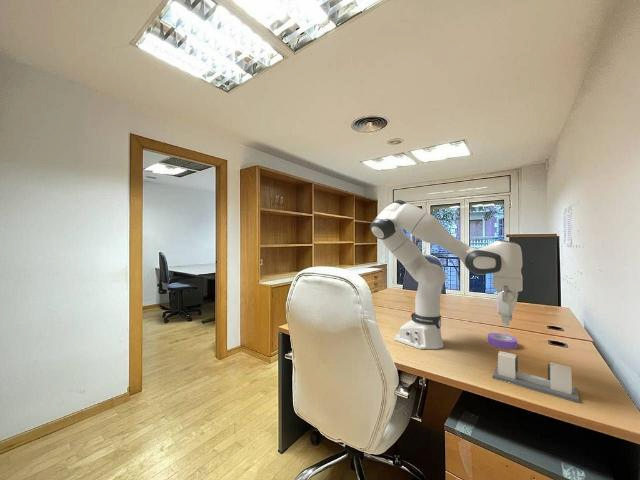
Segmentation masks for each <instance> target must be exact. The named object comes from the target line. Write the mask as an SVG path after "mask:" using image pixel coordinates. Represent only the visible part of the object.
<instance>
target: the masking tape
mask: <svg viewBox="0 0 640 480" xmlns="http://www.w3.org/2000/svg"><path fill="white" fill-rule="evenodd" d="M487 343H488V344H489V345H490V346H493V347H495V348H498V349H503V350H516V349H518V339H517V337H514V336H513V335H510V334H507V333H501V332H491V333H488V334H487Z"/></svg>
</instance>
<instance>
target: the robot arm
mask: <svg viewBox="0 0 640 480" xmlns="http://www.w3.org/2000/svg"><path fill="white" fill-rule="evenodd" d="M369 225H370V227H369V230H370V232H371V233H372V235H373V236H374V237H375V238H377V239H379V240H381V241H382V243H383V244H384V245H385V247H386V249H388V251H390V253H391V254H392V255H393V256H394V257H395V258H396V260H397V261H398V262H400V263H401V264H402V266H403V267H404V268H405V270H406V271H407V272H408V274H409V275H410V276H411V277H412V278H413V280H415V281H416V282H417V283H418V284H417V291H416V294H415V296H414V304H415V305H414V306H415V307H414V308H415V309H414V310H415V311H413V312H412V313H411V314H410V316H409V317H410V318H411V319H410V320H408V321H407V322H406V323H404V324H402V325H401V326H400V328H399V333H397V334H396V335H394V341H396V342H398V343H402V344H404V345H408V346H409V347H412V348H416V349H419V350H438V349H442V348H443V347H444V346H445V344H444V341H443V336H442V331H441V330H442V329H441V327H442V316H441V294H442V290H443V286H444V284H445V282H446V280H447V273H446V272H445V270H444V269H443V268H442V266H440V265H438V264H436V263H431V262H430V261H429V260H428V259H427V258H426V257H425V256H424V254H423V252H422V251H421V249H420V248H419V247H418V245H417V244H416V243H415V242H414V241H413V240H412V239H411V238H410V237H409V236H408V235H407V234H406V233H405V232H404V231H403V230H405V231H406V232H407V233H409V234H410V235H412V236H413V237H415V238H416V239H418V240H421V241H422V242H425V243H428V244H432V245H435V246H439V247H440V248H443V249H445V250H446V251H447V252H449V253H451V254H452V255H454V256H455V257H457V258H458V259H460V261H461V262H462V264H463V265H464V266H465V268H466V269H467V270H468V271H469V272H471V273H473V274H474V275H477V276H478V275H479V276H480V275H481V276H482V275H487V274H492V289H493V290H496V293H497V305H496V306H497V307H496V308H497V309H496V310H497V314H498V315H501V323H502V324H501V326H502V327H506V328H507V327H509V326H510V322H511V321H513V312H514V310H515V308H516V306H517V303H518V296H519V292H523V290H524V289H523V280H524V279H523V274H522V268H523V252H522V247H521V246H520V245H519V244H518V243H517V242H514V241H510V240H504V239H503V240H501V239H497V240H495V241H493V242H492V243H490V244H487V245H485V246H483V247H472V246H470V245H468V244H466V243H465V242H463V241H462V240H460V239H459V238H457V237H455V236H454V235H453V234H452V233H450V232H449V231H448V230H447V228H446V227H445V226H444V224H443V223H442V222H441V221H440V220H439V219H437V218H436V217H435V216H433V214H431V213H429V212H428V211H426V210H424V209H422V208H421V207H419V206H416V205H413V204H411V203H407V202H406V201H405V200H401V199H397V200H394V201H392V202H391V203H390V204H389V205H387V206H386V207H385V208H383V209H382V210H381V211H380V212H379V214H378V215H377V216H376V217H375V218H374V219H373V220H372V222H371V224H369Z"/></svg>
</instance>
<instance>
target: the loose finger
mask: <svg viewBox="0 0 640 480" xmlns="http://www.w3.org/2000/svg"><path fill="white" fill-rule="evenodd" d="M497 367H498V374H499V375H502V376H506V377H510V378H513V379H515V378H516V374H515V373H516V372H519V356H517V354H514V353H511V352H510V353H509V352H506V351H501V350H499V351H498V354H497Z"/></svg>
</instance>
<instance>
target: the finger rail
mask: <svg viewBox="0 0 640 480" xmlns="http://www.w3.org/2000/svg"><path fill="white" fill-rule="evenodd" d="M515 374H516V378H515V379H513V378H510V377H506V376H502V375H499V374H498V366H496V367H495V369H494V372H493V374H492V379H493V380H494V379H495V380H497V381H501V380H502V382H504V381H506V382H505V383H508V382H510V383H509V384H511V383H513V384H512V385H515V384H516V385H515V386H518V385H519V386H518V387H522V388H525V389H529V390H533V391H536V392H539V393H543V394H547V395H549V394H550V395H551V396H554V397H556V396H557V398H560V399H564V400H566V401H570V402H574V403H578V404H580V399H579V391H578V390H579V389H578V387H576V386H574V385H572V384H573V383H572V381H573V380H572V375H573V374H572V367H571V366H568V365H565V364H564V365H562V364H560V363H559V364H558V363H556V362H552V361H551V362H550V363H547V378H544V377H541V376H537V375H533V374H530V373H526V372H523V371H518V372H516V373H515ZM550 395H549V396H550Z"/></svg>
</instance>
